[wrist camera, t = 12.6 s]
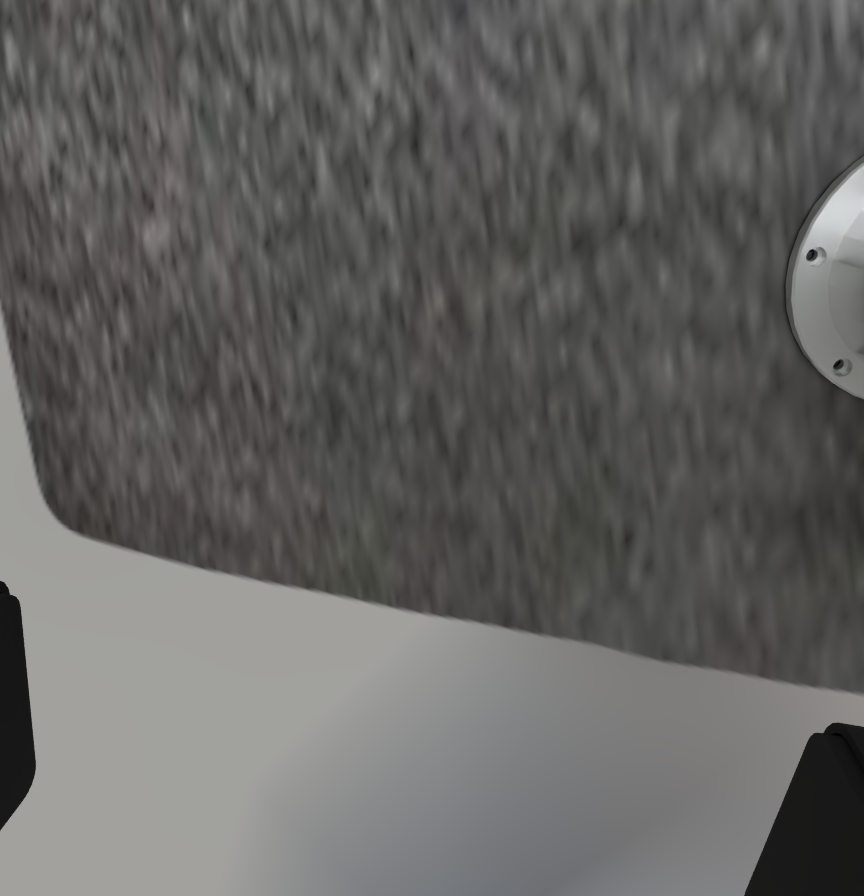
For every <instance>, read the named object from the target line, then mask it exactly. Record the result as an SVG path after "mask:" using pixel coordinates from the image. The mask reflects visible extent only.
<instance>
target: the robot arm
mask: <svg viewBox="0 0 864 896" xmlns="http://www.w3.org/2000/svg"><path fill="white" fill-rule="evenodd" d="M811 249H813V250H814V256H813V258H811V259H810V260H807V259H806V255H807V253H808V252H809V250H811ZM785 286H786V310H787V314H788V318H789V321H790V325H791V329H792V333H793V335H794V337H795V339H796V341H797V343H798V345H799V347H800V349H801V350H802V352H803V354H804V355H805V356H806V358H807V359H808V360H809V361H810V362H811V364H812V365H813V366H814V367H815V368H816V370H817V371H818V372H820V373H821V374H822V375H823V376H825V377H826V378H827V379H828V380H830V381H831V382H832V383H833V384H835V385H837V386H838V387H840V388H842V389H843V390H845V391H847V392H848V393H850V394H852V395H853V396H856V397H859V398H862V399H864V156H863V157H862V158H860V159H859V160H857V161H856V162H854V163H853V164H852V165H851V166H850V167H849V168H848V169H847V170H846V171H845V172H843V173H842V174H841V175H840V176H839V177H838V178H837V179H836V180H835V181H834V182H832V184H831V185H830V186H829V187H828V189H827V190H826V191H825V192H824V194H823V195H822V196H821V197H820V199H819V200H818V201H817V202H816V204H815V205H814V206H813V208H812V210H811V211H810V213H809V215H808V217H807V218H806V220H805V222H804V224H803V226H802V227H801V229H800V231H799V233H798V236H797V239H796V242H795V244H794V247H793V250H792V253H791V256H790V259H789V265H788V271H787V278H786V284H785ZM838 360H840V364H839V365H838V366H837V367H833V365H834V364H835V362H836V361H838ZM35 770H36V760H35V751H34V740H33V730H32V719H31V709H30V699H29V688H28V678H27V668H26V658H25V648H24V638H23V628H22V616H21V607H20V603H19V600H18V599H17V597H15V596H13V595H10V593H9V589H8V587H7V586H6V584H5V583H4V582H2V581H0V830H1V829H2V827H3V826H4V825H5V823H6V822H7V821H8V820H9V818H10V817H11V816H12V814H13V813H14V811H15V810H16V809H17V808H18V806H19V805H20V804H21V802H22V801H23V799H24V798H25V796H26V795H27V793H28V791H29V789H30V787H31V785H32V782H33V779H34V775H35ZM744 896H864V727H861V726H855V725H849V724H843V723H832V724H831V725H830V726H828V727H827V728H826V730H825V731H824V733H814V734H813V735H812V736H811V737H810V738H809V740H808V742H807V744H806V747H805V749H804V752H803V754H802V757H801V759H800V761H799V764H798V766H797V769H796V771H795V773H794V776H793V778H792V781H791V783H790V786H789V788H788V790H787V793H786V795H785V797H784V800H783V802H782V805H781V807H780V810H779V812H778V815H777V817H776V819H775V822H774V824H773V827H772V829H771V831H770V834H769V836H768V839H767V841H766V843H765V846H764V848H763V851H762V853H761V856H760V858H759V860H758V863H757V865H756V868H755V870H754V872H753V875H752V877H751V880H750V882H749V885H748V887H747V889H746V892H745V895H744Z"/></svg>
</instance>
